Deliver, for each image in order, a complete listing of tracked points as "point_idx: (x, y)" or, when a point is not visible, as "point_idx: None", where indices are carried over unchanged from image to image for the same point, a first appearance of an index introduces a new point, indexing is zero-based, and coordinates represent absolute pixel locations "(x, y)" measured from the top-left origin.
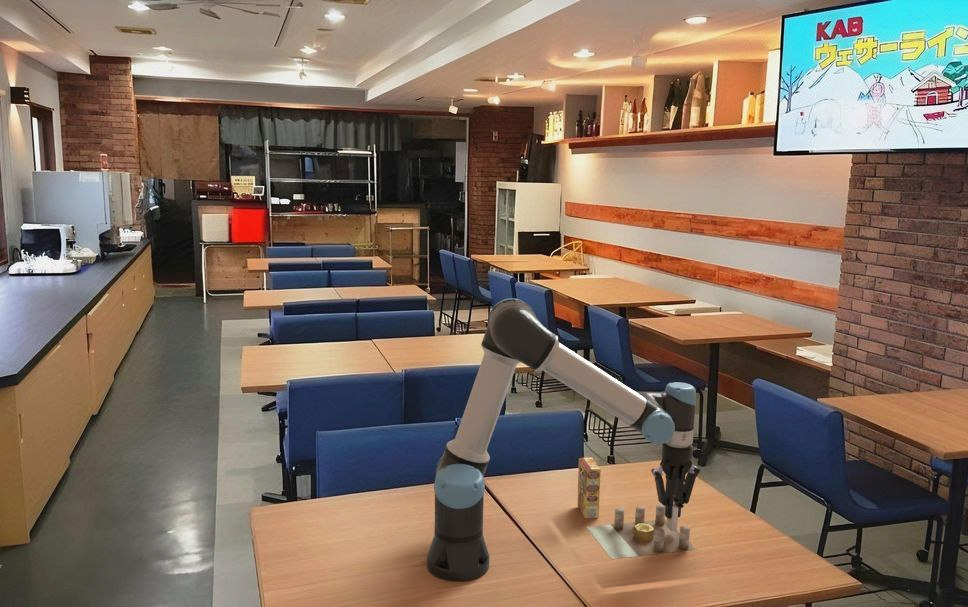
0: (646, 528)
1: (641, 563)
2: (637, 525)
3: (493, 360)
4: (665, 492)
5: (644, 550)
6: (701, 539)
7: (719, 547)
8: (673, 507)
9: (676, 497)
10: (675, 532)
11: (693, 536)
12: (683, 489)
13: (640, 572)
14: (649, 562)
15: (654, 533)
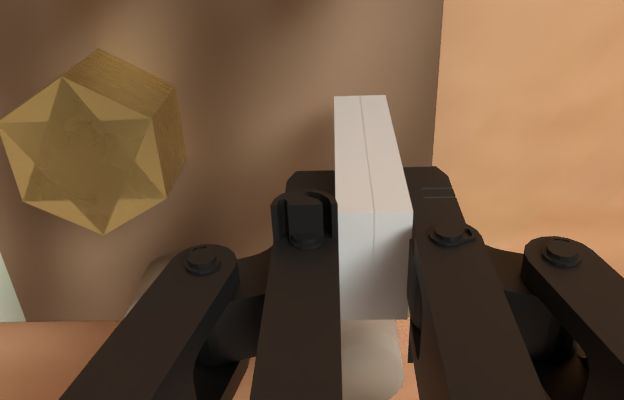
0: (102, 179)
1: (53, 326)
2: (30, 118)
3: None
4: (258, 349)
5: (79, 276)
6: (577, 147)
7: (615, 257)
8: (349, 307)
9: (422, 351)
10: (410, 91)
11: (551, 96)
12: (616, 391)
13: (31, 388)
14: (102, 325)
15: (227, 77)
